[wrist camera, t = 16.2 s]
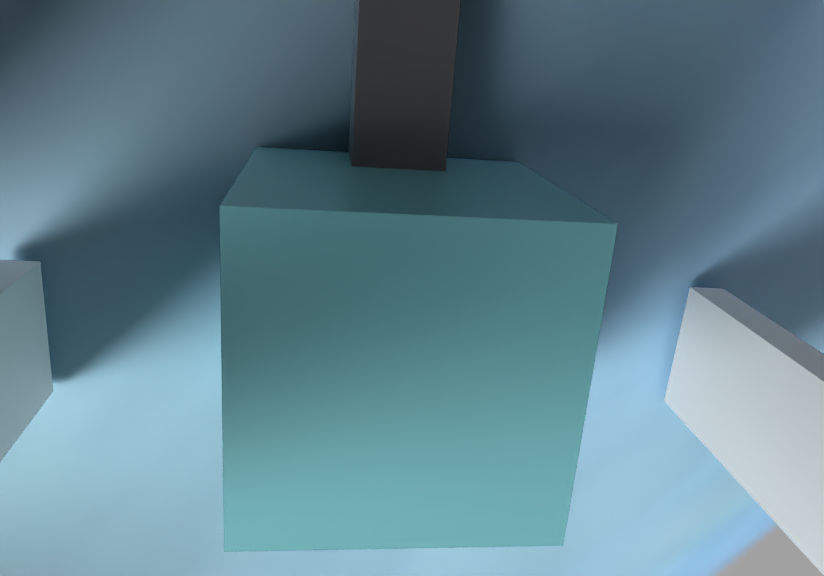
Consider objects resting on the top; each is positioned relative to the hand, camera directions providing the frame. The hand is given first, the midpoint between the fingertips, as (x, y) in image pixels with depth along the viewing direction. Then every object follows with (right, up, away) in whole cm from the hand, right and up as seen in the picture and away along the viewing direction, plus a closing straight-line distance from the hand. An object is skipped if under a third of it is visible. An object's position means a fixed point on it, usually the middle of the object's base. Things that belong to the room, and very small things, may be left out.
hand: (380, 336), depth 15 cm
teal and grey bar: (+1, +9, -3) cm, 9 cm away
